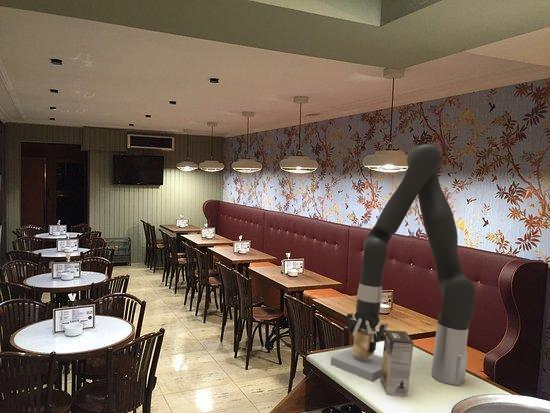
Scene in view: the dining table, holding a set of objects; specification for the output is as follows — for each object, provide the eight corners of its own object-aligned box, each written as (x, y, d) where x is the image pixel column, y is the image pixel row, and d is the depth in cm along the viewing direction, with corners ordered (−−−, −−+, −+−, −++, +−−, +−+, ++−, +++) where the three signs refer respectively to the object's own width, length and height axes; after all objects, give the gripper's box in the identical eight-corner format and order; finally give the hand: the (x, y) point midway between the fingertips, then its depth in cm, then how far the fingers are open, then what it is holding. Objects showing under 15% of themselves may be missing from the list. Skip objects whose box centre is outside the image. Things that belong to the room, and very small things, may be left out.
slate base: (393, 369, 145) (393, 361, 145) (372, 381, 134) (372, 373, 134) (353, 354, 155) (353, 347, 155) (330, 364, 144) (331, 356, 144)
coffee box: (379, 380, 136) (384, 329, 135) (400, 382, 136) (406, 331, 134) (386, 395, 126) (392, 340, 125) (408, 397, 126) (414, 342, 125)
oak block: (373, 354, 145) (376, 333, 144) (366, 358, 141) (368, 336, 140) (360, 349, 148) (362, 329, 147) (352, 353, 144) (354, 332, 144)
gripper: (395, 302, 141) (389, 354, 142) (355, 291, 151) (350, 340, 152) (384, 305, 136) (377, 360, 137) (343, 294, 145) (338, 345, 146)
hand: (363, 349), depth 144 cm, fingers closed on oak block, 5 cm apart
